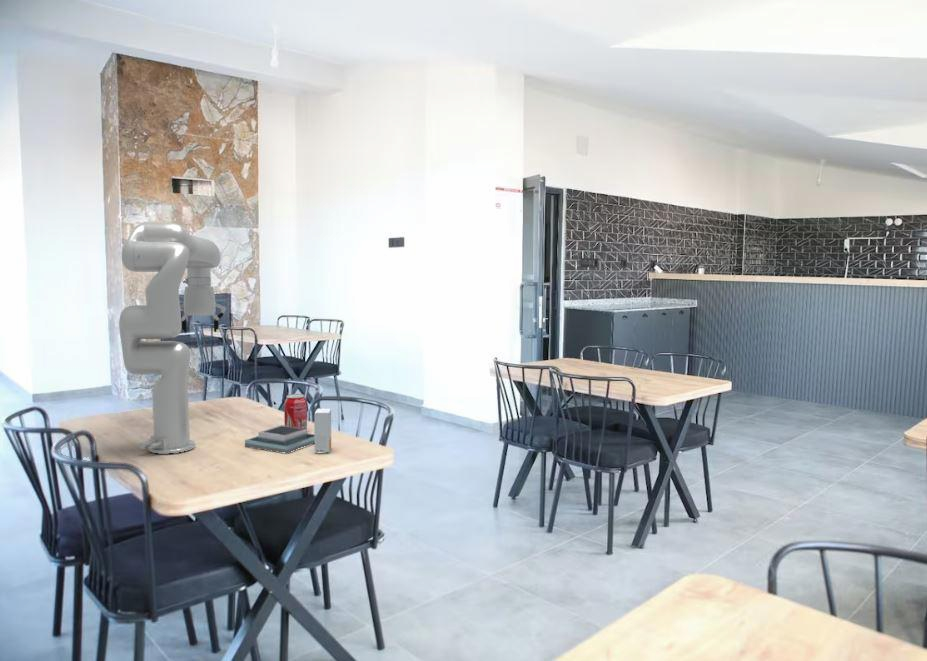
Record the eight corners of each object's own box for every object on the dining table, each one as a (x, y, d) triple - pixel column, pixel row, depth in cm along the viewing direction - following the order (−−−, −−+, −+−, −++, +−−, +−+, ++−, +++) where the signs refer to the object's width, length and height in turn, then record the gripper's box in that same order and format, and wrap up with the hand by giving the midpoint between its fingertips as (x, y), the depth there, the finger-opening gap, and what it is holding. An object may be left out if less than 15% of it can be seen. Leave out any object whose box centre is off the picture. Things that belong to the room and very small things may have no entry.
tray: (287, 453, 192) (286, 439, 192) (244, 446, 199) (244, 432, 199) (320, 441, 206) (320, 428, 205) (279, 435, 213) (279, 422, 212)
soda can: (287, 429, 220) (287, 393, 219) (309, 429, 220) (308, 393, 219) (282, 435, 213) (281, 397, 212) (304, 435, 213) (304, 397, 212)
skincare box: (329, 453, 193) (328, 412, 192) (314, 453, 193) (313, 412, 192) (331, 447, 199) (331, 408, 198) (317, 448, 199) (316, 408, 198)
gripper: (171, 282, 225) (172, 333, 227) (225, 282, 231) (226, 332, 233) (172, 282, 232) (174, 331, 234) (225, 282, 238) (227, 330, 240)
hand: (200, 331), depth 233 cm, fingers open, 9 cm apart
